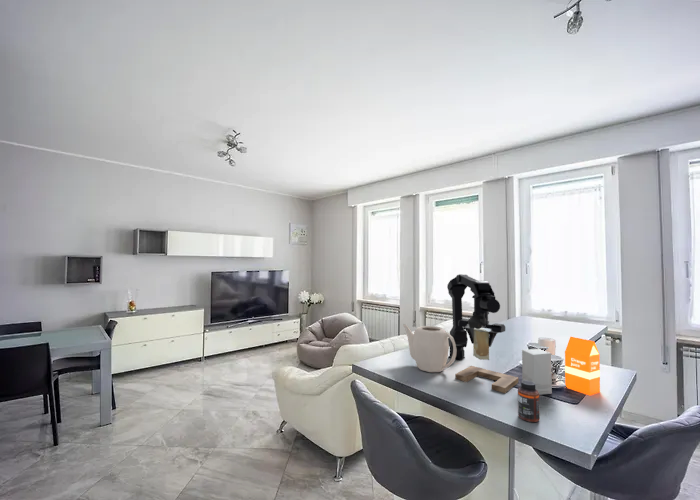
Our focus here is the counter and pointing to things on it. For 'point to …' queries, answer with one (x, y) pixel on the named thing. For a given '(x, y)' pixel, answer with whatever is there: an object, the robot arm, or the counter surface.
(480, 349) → the skincare box
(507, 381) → the notched board
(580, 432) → the counter surface
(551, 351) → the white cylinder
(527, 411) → the supplement bottle
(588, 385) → the orange juice
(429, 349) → the watering can
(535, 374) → the skincare box
